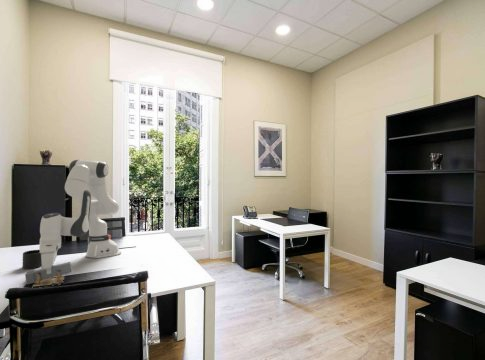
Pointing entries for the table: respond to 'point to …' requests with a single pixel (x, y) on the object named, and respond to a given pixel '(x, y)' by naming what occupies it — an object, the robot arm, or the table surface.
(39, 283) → the peg rack
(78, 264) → the table surface
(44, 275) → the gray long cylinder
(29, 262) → the mug
